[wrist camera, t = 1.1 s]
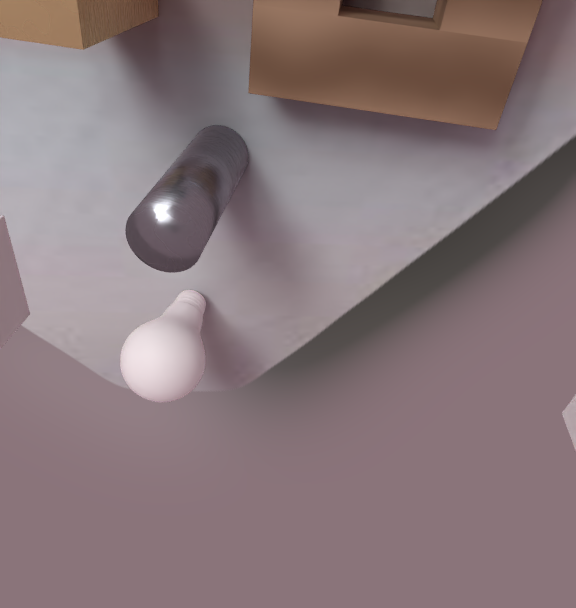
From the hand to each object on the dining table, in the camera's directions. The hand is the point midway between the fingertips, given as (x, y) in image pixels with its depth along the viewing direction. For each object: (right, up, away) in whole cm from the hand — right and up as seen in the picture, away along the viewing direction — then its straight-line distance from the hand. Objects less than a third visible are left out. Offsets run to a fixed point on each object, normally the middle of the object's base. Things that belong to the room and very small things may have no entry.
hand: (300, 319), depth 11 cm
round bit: (-5, +11, +24) cm, 27 cm away
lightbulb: (-8, +1, +32) cm, 33 cm away
